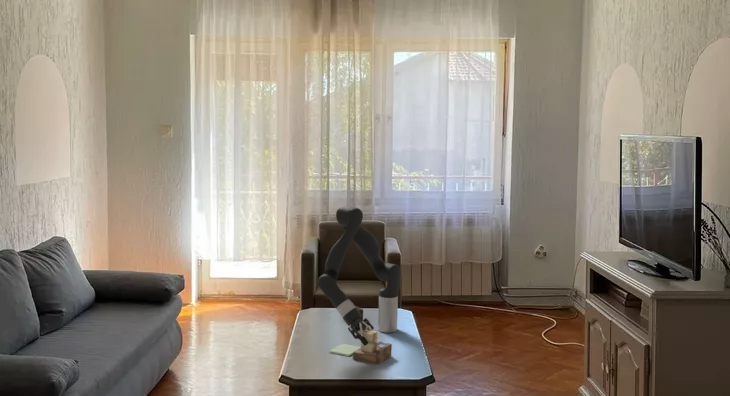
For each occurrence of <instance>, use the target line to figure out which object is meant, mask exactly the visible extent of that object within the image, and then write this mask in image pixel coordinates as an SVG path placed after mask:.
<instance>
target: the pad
mask: <svg viewBox="0 0 730 396" xmlns="http://www.w3.org/2000/svg"><path fill="white" fill-rule="evenodd" d="M360 348H361V346H357V345H352V344H346V343H341V344H340V345H337V346H335V347H334V348H332V349H330V350H329V352H328V353H329V354H333V355H334V354H335V355H339V356H345V357H351V356H353V352H354V351H356V350H358V349H360Z"/></svg>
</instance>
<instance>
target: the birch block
mask: <svg viewBox="0 0 730 396" xmlns="http://www.w3.org/2000/svg"><path fill="white" fill-rule="evenodd" d="M362 334H363V336H364V337H365V339H366V340H367V341H368V344H367V345H366V346H364V345H363V343H362V342H361V341H360V347H361V351H365V352H370V353H372V352H373V351H375V350H377V342H378V331H375V330H373V331H370V330H366V331H364V332H362Z"/></svg>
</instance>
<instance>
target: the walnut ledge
mask: <svg viewBox="0 0 730 396" xmlns="http://www.w3.org/2000/svg"><path fill="white" fill-rule="evenodd" d="M387 343H388V342H387ZM380 347H381V346H379V347H377V350H375V351H373V352H372V353H370V352H365V351H361V348H360V349H358V350H356V351H354V352H353V355H352V360H357V361H362V362H367V363H373V364H378V365H380V364H382V363H383V362H384V361H386V360H387V359H389V358H391V357H392V349H393V348H392V347H393V345H392V343H388V344H387V345H383V346H382V348H380Z"/></svg>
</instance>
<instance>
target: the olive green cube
mask: <svg viewBox="0 0 730 396" xmlns="http://www.w3.org/2000/svg"><path fill="white" fill-rule="evenodd" d="M354 306H355V307H356V308H357V309H358V311H359V312H360V313H361V315H362V316H361V319H362V320H364V309H363V308H361V307H360V306H356V305H354Z"/></svg>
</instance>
